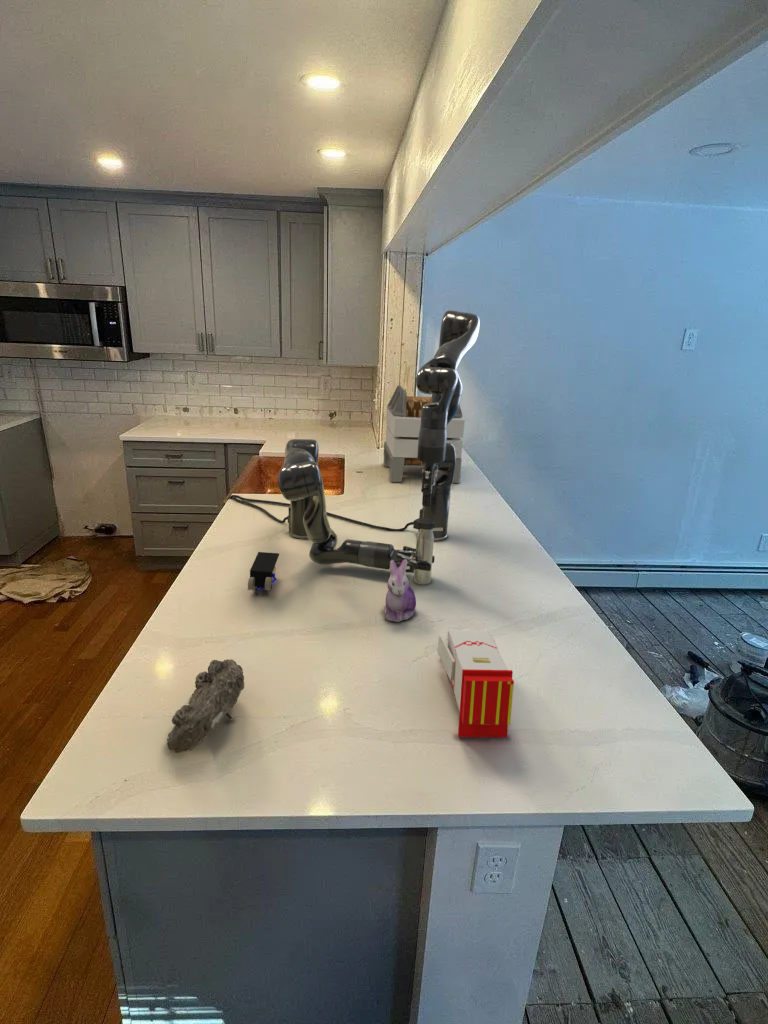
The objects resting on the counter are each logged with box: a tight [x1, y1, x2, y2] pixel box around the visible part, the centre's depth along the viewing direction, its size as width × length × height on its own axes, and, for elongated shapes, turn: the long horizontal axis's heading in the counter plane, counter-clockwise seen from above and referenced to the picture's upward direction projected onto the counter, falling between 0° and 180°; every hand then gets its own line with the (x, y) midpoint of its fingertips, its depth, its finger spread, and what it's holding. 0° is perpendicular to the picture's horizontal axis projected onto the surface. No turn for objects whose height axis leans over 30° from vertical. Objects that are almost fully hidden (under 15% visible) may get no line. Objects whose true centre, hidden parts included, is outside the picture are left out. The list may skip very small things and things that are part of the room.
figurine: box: [384, 559, 417, 623], centre depth 145 cm, size 9×10×15 cm
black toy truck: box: [247, 551, 280, 596], centre depth 158 cm, size 7×8×15 cm
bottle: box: [413, 529, 435, 585], centre depth 163 cm, size 5×5×18 cm
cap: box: [418, 518, 434, 530], centre depth 160 cm, size 4×4×2 cm
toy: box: [437, 628, 515, 738], centre depth 117 cm, size 12×13×30 cm
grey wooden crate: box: [383, 384, 465, 484], centre depth 268 cm, size 34×33×41 cm
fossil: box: [166, 658, 245, 754], centre depth 106 cm, size 22×10×15 cm
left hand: (432, 563), depth 164 cm, fingers closed on bottle, 5 cm apart
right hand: (427, 501), depth 158 cm, fingers open, 7 cm apart
